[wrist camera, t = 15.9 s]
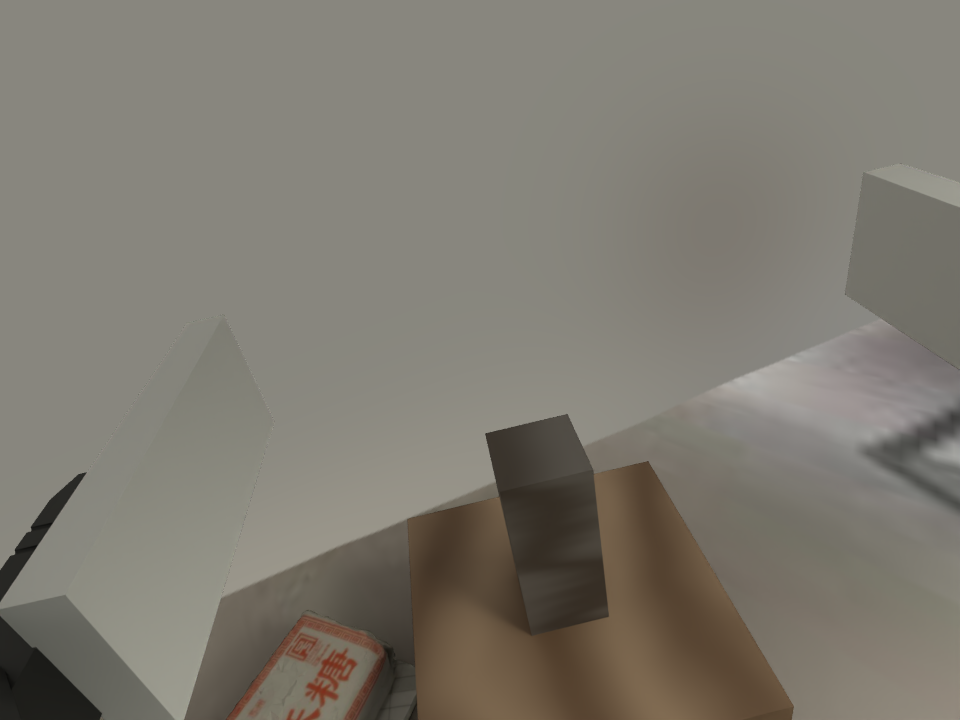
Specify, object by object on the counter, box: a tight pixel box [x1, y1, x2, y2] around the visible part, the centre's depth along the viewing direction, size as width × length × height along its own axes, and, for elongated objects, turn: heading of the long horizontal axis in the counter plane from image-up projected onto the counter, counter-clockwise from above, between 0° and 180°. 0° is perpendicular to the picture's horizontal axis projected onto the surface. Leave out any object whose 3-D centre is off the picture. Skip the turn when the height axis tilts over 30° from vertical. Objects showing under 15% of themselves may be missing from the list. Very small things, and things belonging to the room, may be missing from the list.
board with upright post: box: [407, 414, 794, 720], centre depth 29 cm, size 16×16×11 cm
